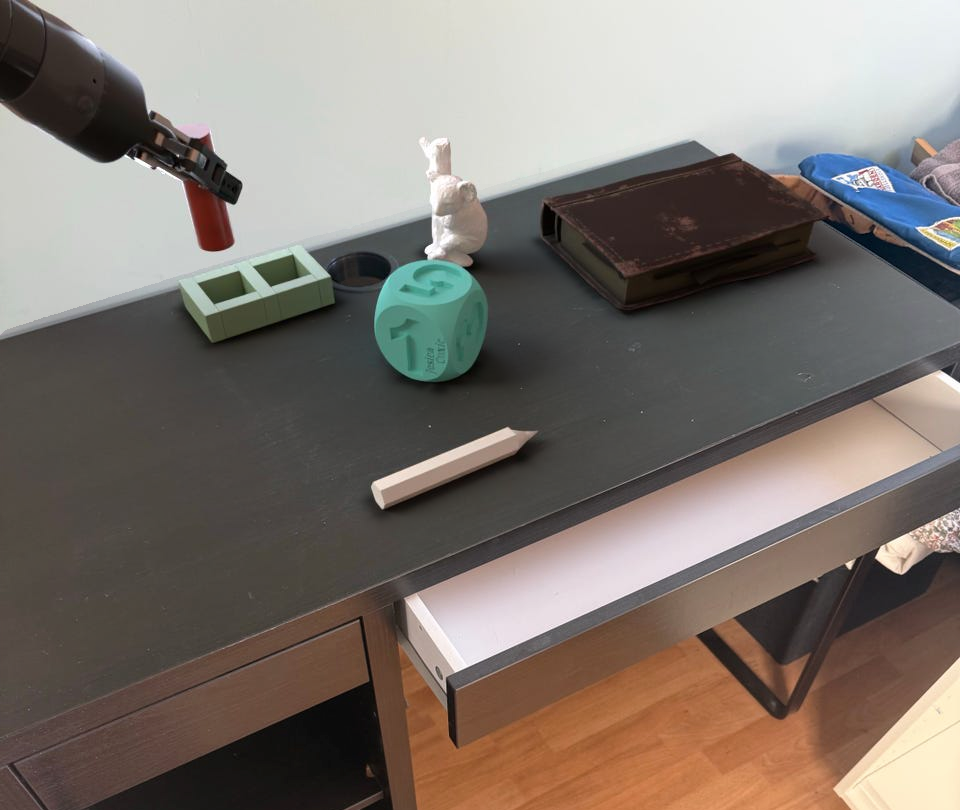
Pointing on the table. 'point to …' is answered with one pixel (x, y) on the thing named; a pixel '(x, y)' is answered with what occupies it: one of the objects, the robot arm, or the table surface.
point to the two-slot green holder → (256, 292)
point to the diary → (680, 230)
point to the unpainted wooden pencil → (448, 466)
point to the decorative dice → (431, 320)
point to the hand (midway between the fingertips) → (220, 187)
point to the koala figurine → (452, 209)
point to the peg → (207, 203)
